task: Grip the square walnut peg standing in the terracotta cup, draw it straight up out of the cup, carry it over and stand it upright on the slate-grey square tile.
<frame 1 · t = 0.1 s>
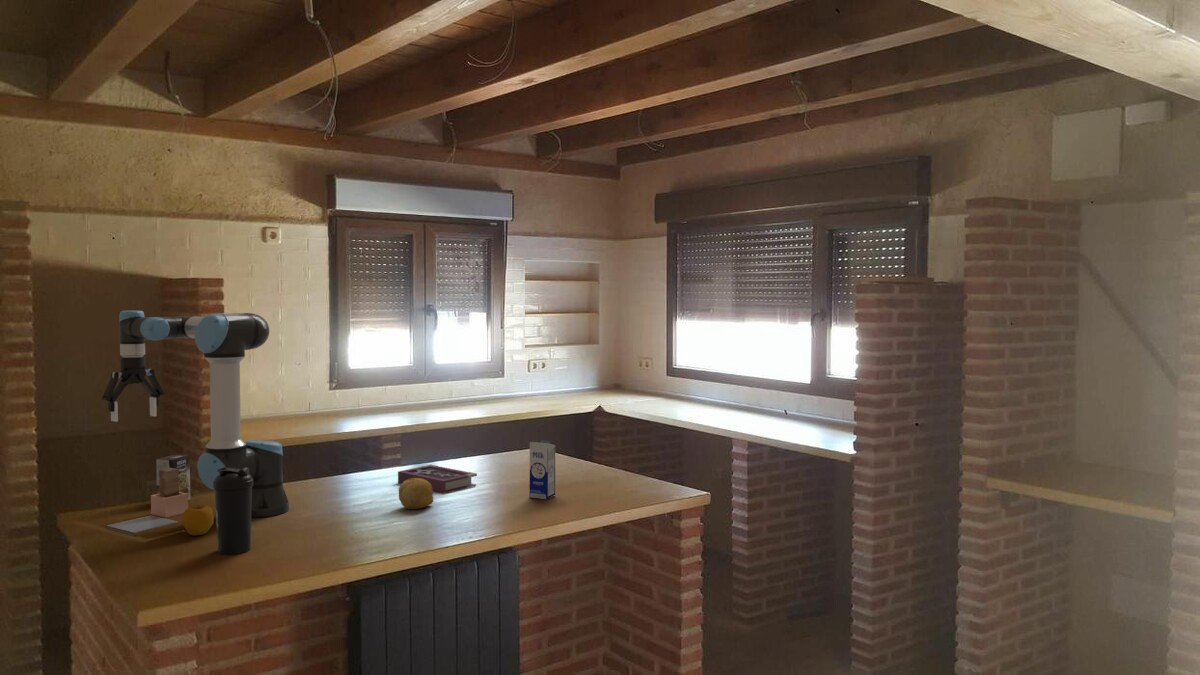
hand: (134, 418, 298), 28 cm above the kitchen island, fingers open, 13 cm apart
potato: (415, 508, 292), on the kitchen island
apple: (198, 535, 259), on the kitchen island
tile: (142, 527, 266), on the kitchen island
water bottle: (234, 550, 244), on the kitchen island
coffee box: (174, 504, 294), on the kitchen island
book: (437, 486, 326), on the kitchen island
cup: (169, 516, 279), on the kitchen island
milk carton: (542, 497, 308), on the kitchen island
peg: (169, 513, 279), point 1 cm above the kitchen island, touching cup
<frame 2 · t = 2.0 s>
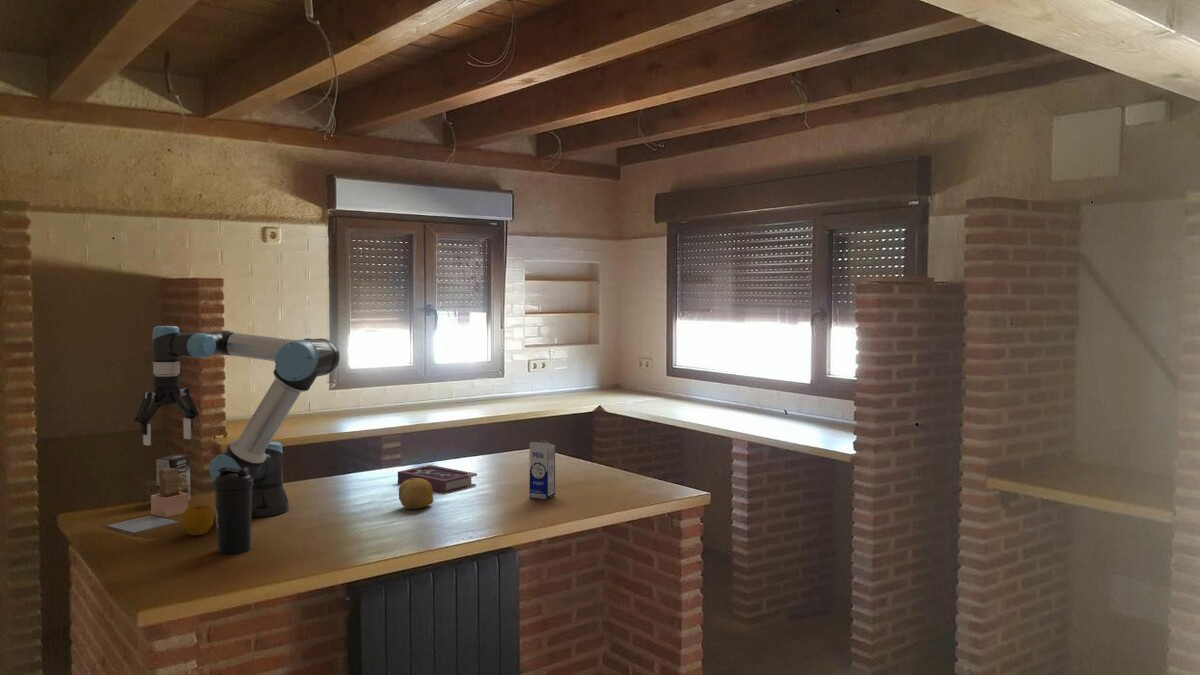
hand: (167, 441, 277), 24 cm above the kitchen island, fingers open, 13 cm apart
nothing on the kitchen island moved.
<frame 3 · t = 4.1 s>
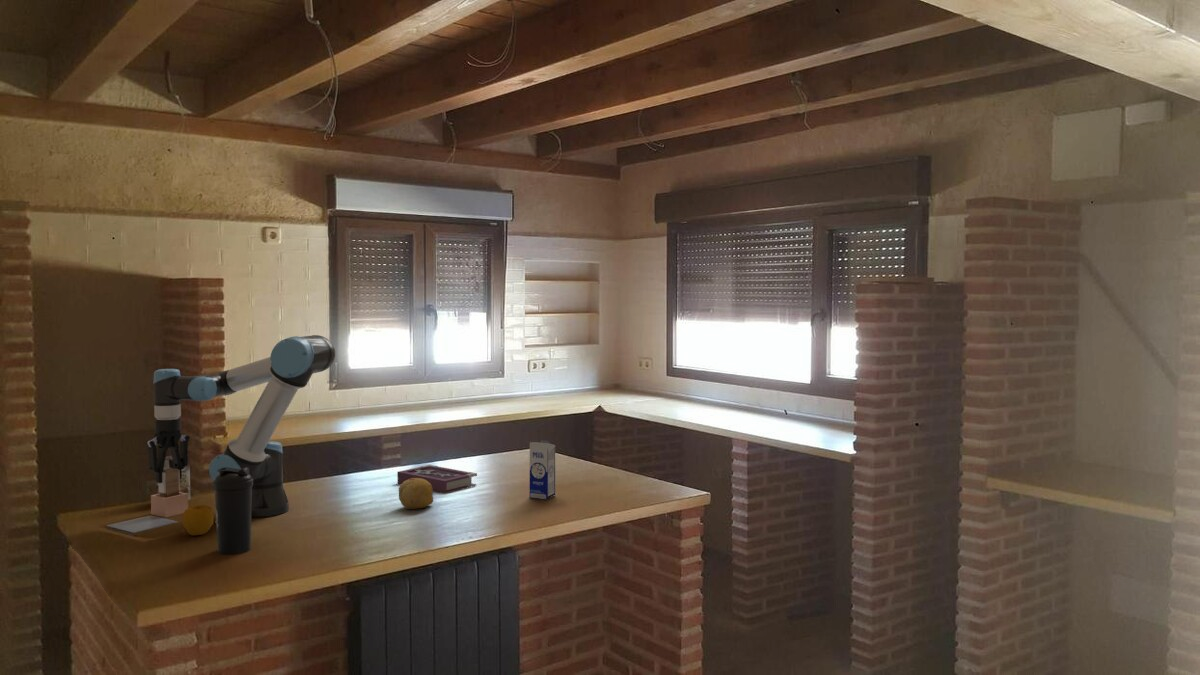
hand: (169, 491, 278), 8 cm above the kitchen island, fingers closed on peg, 4 cm apart
peg: (169, 513, 279), point 1 cm above the kitchen island, touching cup, gripper
everything else where it was.
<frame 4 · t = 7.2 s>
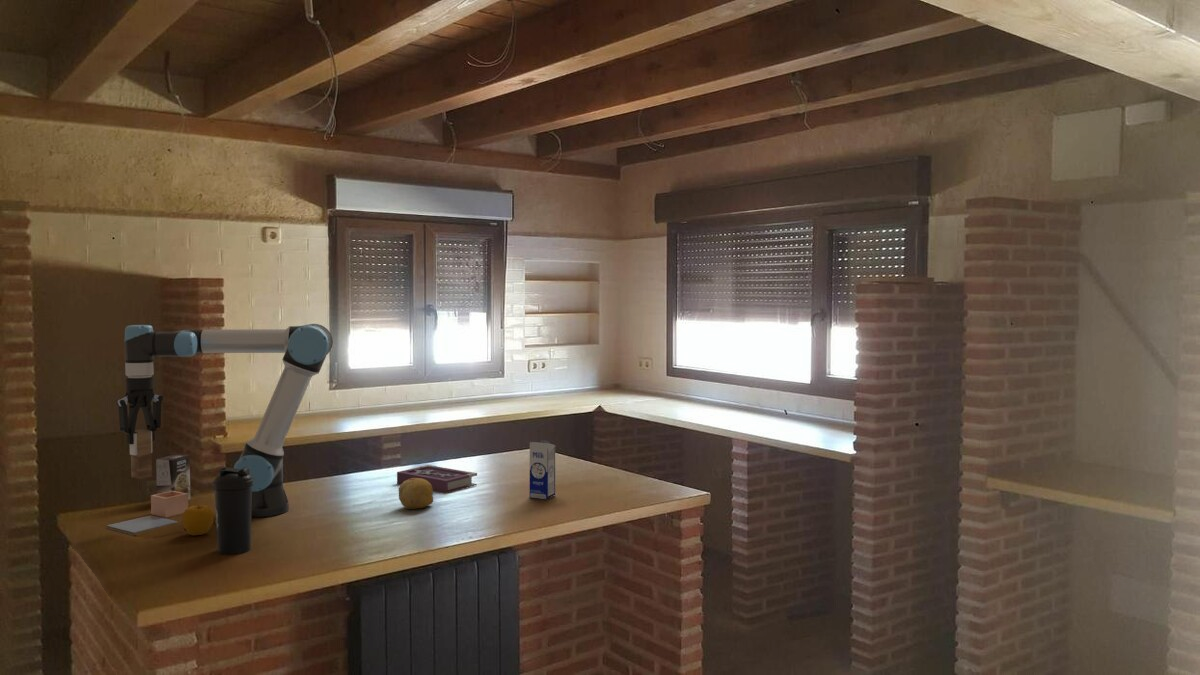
hand: (141, 453, 265), 23 cm above the kitchen island, fingers closed on peg, 4 cm apart
peg: (141, 476, 265), point 15 cm above the kitchen island, touching gripper
everything else where it was.
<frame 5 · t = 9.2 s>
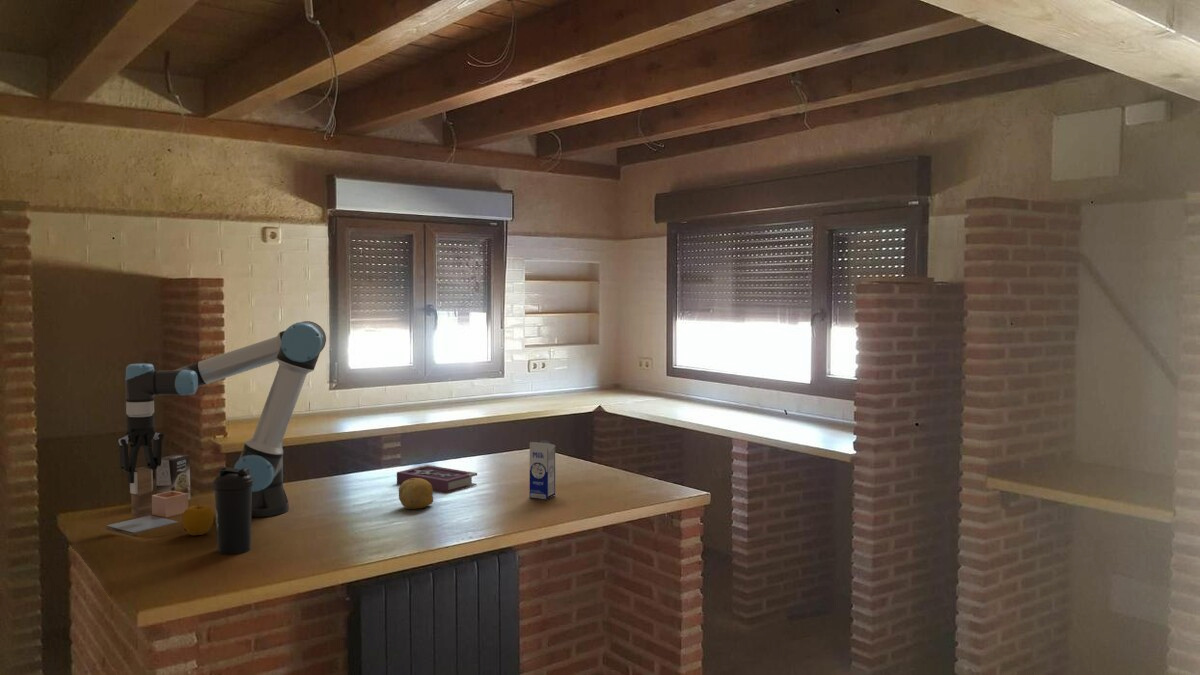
hand: (141, 491, 265), 11 cm above the kitchen island, fingers closed on peg, 4 cm apart
peg: (141, 514, 266), point 4 cm above the kitchen island, touching gripper
everything else where it was.
when the fingers open (8 cm above the kitchen island, at t = 10.4 s): peg stays where it is, resting on tile.
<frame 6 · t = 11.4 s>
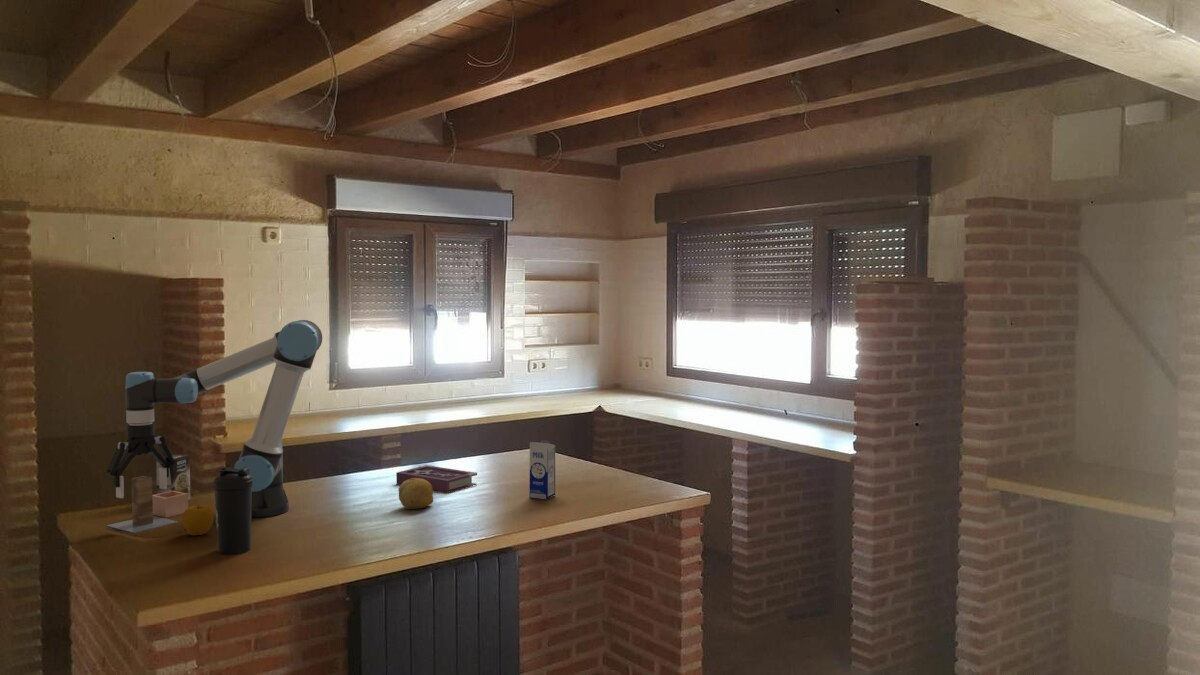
hand: (142, 493, 265), 11 cm above the kitchen island, fingers open, 13 cm apart
peg: (142, 523, 266), point 1 cm above the kitchen island, touching tile
everything else where it was.
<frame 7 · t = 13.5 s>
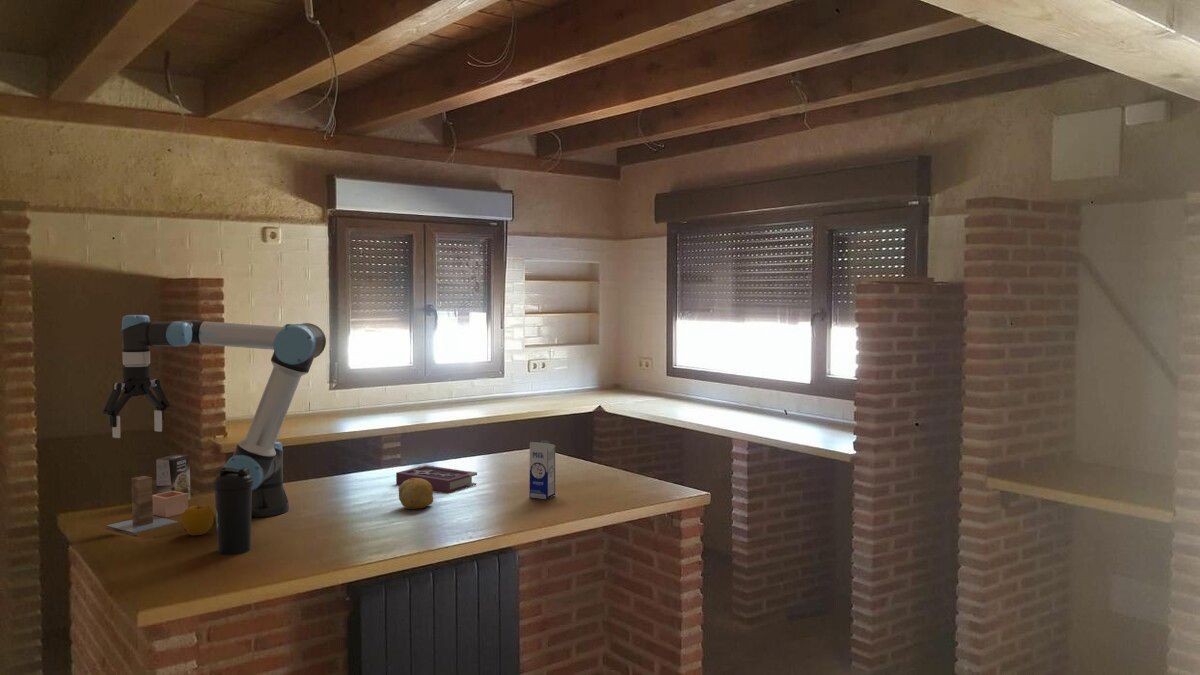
hand: (137, 434, 269), 28 cm above the kitchen island, fingers open, 13 cm apart
nothing on the kitchen island moved.
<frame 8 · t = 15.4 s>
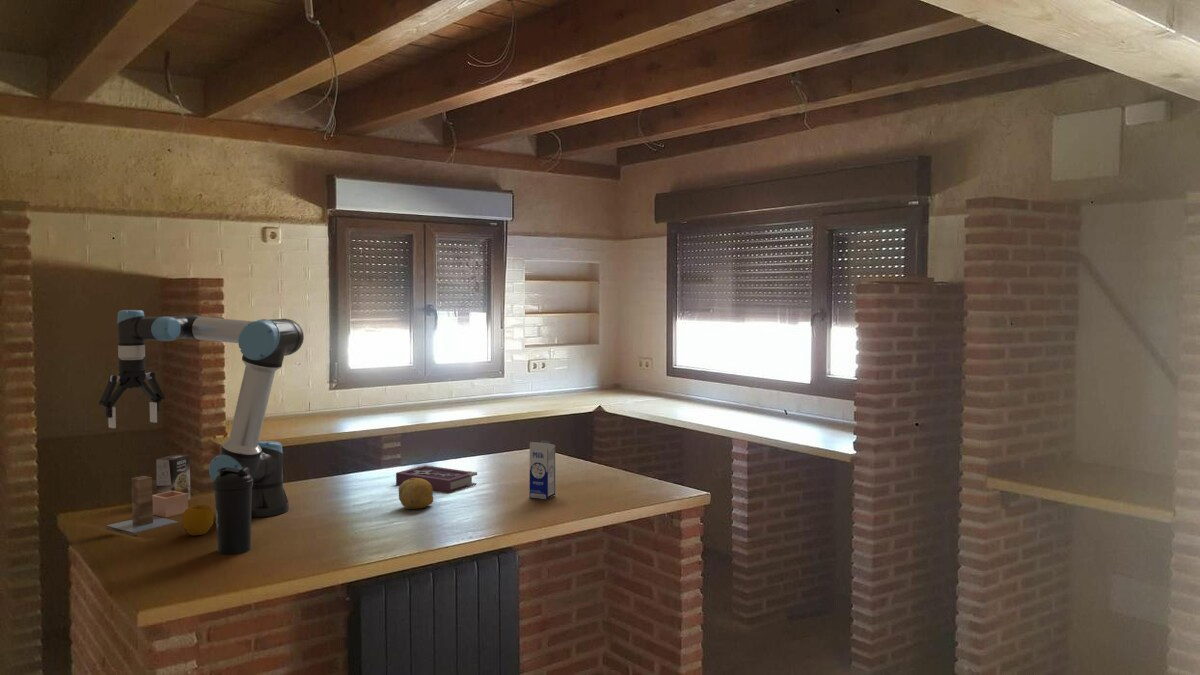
hand: (133, 425, 280), 29 cm above the kitchen island, fingers open, 13 cm apart
nothing on the kitchen island moved.
at the end: peg inside the target area on the tile (0.0 cm from its centre), point 1.2 cm above the tile's base; peg tilted 0°; the gripper is holding nothing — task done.
